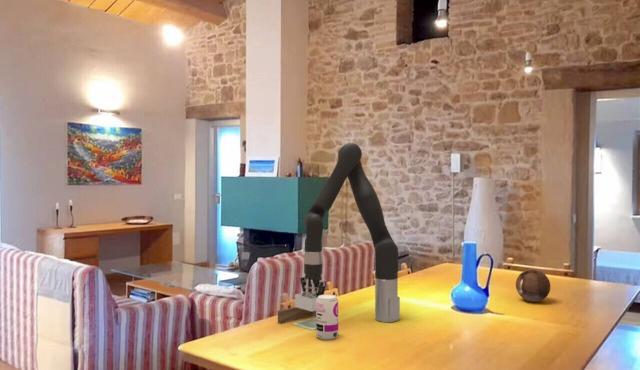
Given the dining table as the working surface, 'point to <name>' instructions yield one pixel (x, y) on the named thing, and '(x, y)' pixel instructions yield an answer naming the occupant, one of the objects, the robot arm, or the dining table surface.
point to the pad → (307, 324)
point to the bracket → (306, 301)
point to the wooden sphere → (533, 285)
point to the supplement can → (327, 317)
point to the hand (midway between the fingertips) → (313, 303)
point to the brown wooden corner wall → (293, 314)
